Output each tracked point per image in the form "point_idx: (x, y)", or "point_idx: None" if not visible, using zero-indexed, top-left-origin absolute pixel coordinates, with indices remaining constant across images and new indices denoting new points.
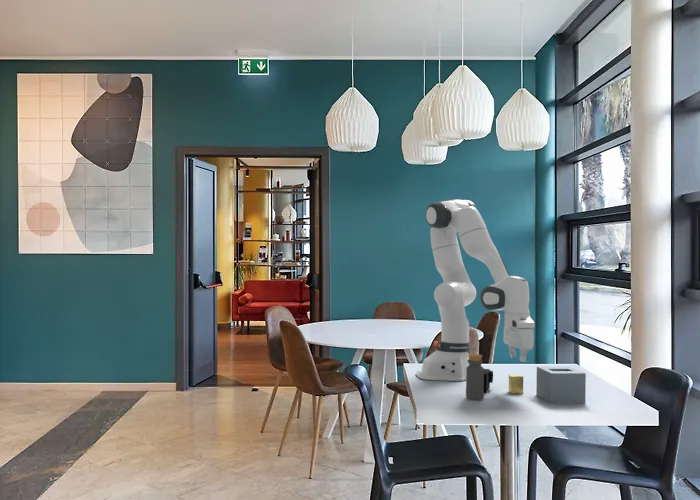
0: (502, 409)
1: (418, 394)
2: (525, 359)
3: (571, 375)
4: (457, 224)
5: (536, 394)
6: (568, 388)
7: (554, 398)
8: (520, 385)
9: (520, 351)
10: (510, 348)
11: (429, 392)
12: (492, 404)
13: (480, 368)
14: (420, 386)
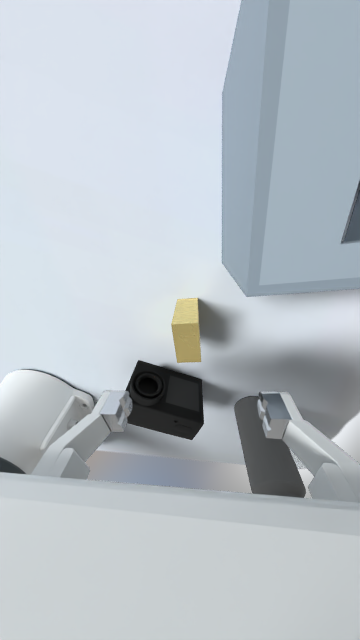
0: (357, 386)
1: (214, 459)
2: (293, 403)
3: None
4: None
5: (222, 262)
6: None
7: None
8: (198, 316)
9: (314, 488)
10: (84, 455)
11: (200, 448)
12: (307, 392)
13: (303, 492)
14: (156, 449)
